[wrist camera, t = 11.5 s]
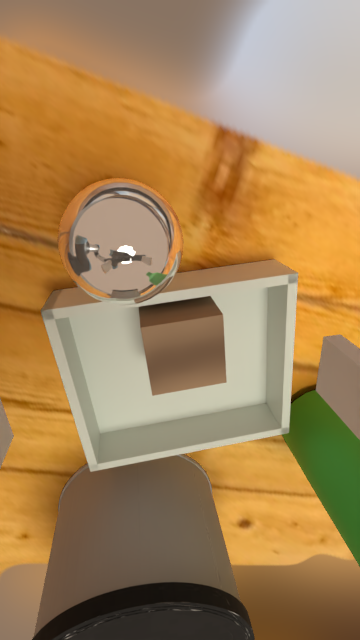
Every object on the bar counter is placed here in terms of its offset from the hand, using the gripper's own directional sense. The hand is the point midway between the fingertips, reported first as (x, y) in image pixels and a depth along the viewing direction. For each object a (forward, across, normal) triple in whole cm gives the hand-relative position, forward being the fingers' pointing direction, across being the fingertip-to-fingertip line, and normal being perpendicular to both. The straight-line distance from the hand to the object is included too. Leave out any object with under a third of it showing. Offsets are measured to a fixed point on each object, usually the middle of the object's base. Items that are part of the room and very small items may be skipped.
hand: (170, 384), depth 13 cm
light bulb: (+17, -1, +4) cm, 17 cm away
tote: (+16, +2, -9) cm, 19 cm away
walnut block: (+16, +2, -5) cm, 17 cm away
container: (+17, -4, -29) cm, 34 cm away
